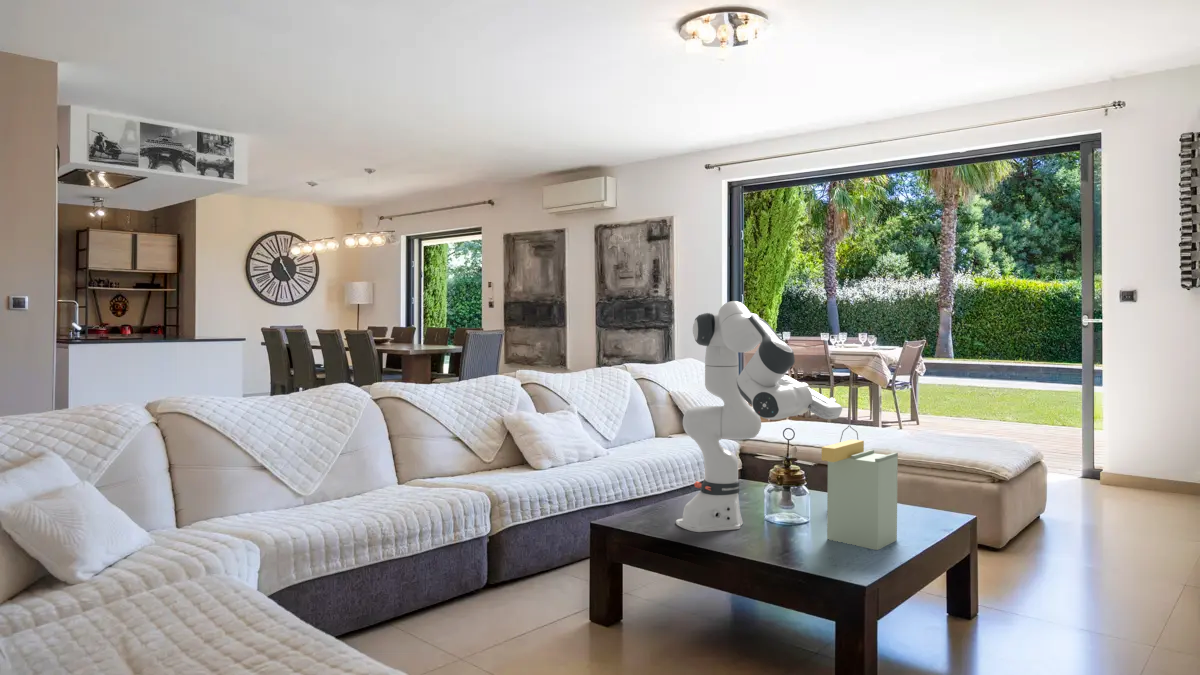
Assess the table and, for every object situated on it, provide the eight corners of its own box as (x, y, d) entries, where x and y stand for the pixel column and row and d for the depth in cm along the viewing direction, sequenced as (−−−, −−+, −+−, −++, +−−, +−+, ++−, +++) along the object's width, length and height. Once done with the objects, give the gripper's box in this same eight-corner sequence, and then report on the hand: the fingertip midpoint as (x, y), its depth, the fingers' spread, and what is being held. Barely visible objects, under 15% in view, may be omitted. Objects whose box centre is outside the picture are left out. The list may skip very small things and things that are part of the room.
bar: (834, 462, 228) (834, 448, 228) (821, 460, 231) (821, 447, 231) (863, 453, 243) (863, 440, 243) (851, 451, 245) (851, 439, 245)
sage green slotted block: (877, 550, 228) (878, 459, 228) (827, 539, 239) (827, 452, 239) (896, 540, 239) (897, 452, 238) (847, 530, 249) (848, 447, 249)
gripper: (831, 407, 205) (855, 401, 215) (769, 372, 218) (794, 368, 228) (822, 427, 207) (846, 421, 217) (762, 391, 220) (787, 387, 230)
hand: (819, 393), depth 223 cm, fingers open, 8 cm apart
